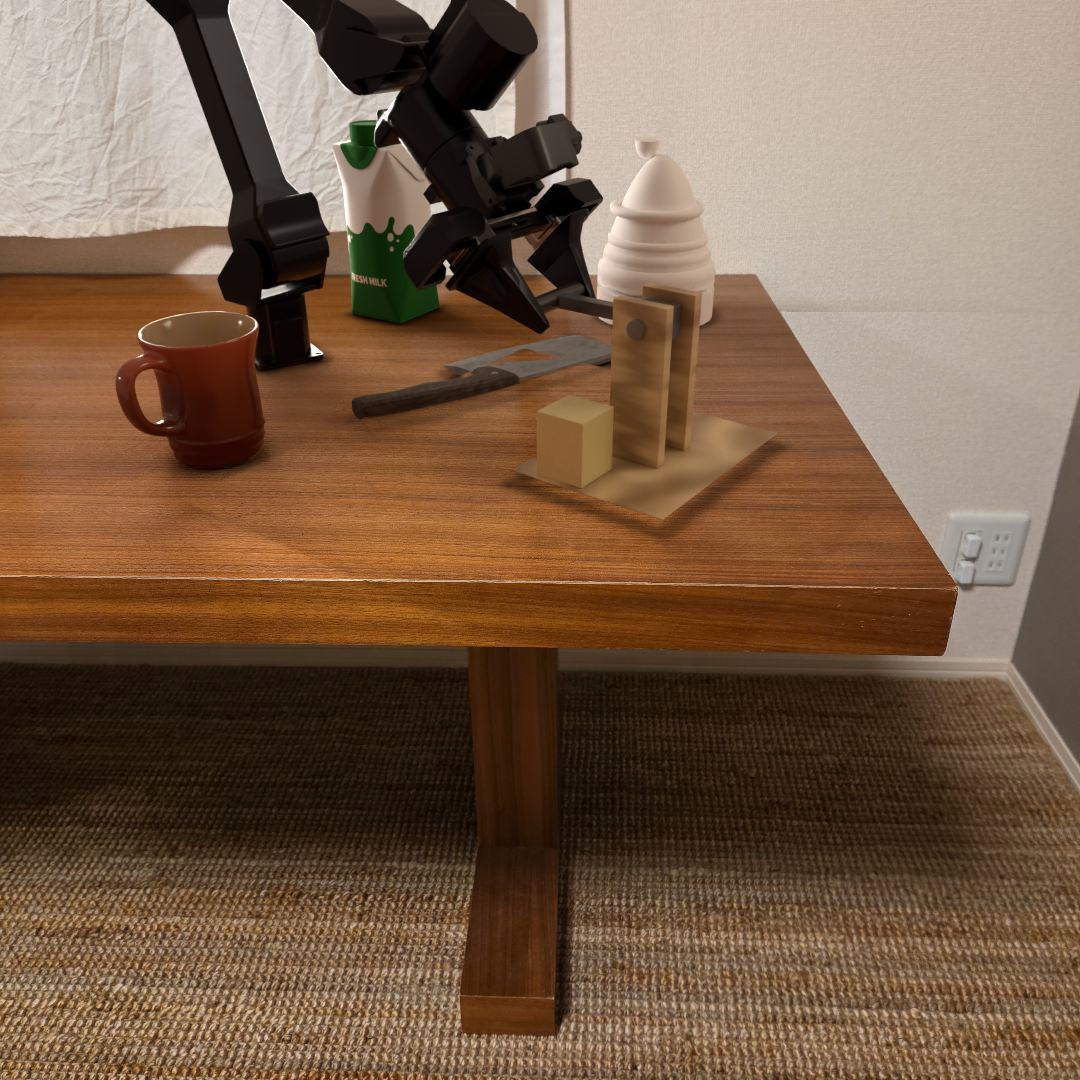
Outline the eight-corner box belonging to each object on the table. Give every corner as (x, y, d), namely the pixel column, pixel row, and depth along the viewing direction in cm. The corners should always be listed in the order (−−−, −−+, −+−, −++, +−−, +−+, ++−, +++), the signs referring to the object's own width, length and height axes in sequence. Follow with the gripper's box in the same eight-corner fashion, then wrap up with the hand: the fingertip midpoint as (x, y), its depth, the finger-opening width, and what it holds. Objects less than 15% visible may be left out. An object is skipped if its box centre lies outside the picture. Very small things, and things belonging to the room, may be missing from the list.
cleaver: (382, 438, 82) (380, 413, 81) (320, 404, 89) (318, 381, 88) (632, 360, 100) (634, 340, 98) (565, 337, 106) (566, 317, 105)
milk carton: (340, 315, 112) (320, 122, 102) (392, 295, 119) (378, 112, 109) (401, 328, 108) (387, 128, 98) (452, 307, 115) (443, 118, 105)
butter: (536, 474, 74) (536, 410, 72) (567, 455, 77) (568, 394, 74) (581, 488, 72) (582, 424, 69) (611, 469, 75) (614, 406, 72)
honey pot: (572, 315, 112) (574, 143, 103) (640, 290, 120) (647, 129, 111) (668, 339, 105) (680, 156, 96) (733, 311, 113) (749, 140, 104)
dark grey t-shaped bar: (524, 322, 76) (524, 290, 75) (570, 303, 80) (570, 273, 79) (650, 351, 70) (652, 317, 69) (693, 329, 74) (695, 297, 73)
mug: (223, 424, 85) (203, 304, 80) (300, 446, 81) (283, 322, 76) (103, 477, 77) (72, 347, 72) (182, 505, 73) (155, 369, 67)
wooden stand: (511, 484, 75) (507, 309, 69) (638, 410, 88) (646, 256, 81) (661, 534, 69) (673, 346, 62) (776, 446, 81) (796, 282, 75)
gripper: (422, 88, 65) (559, 285, 65) (585, 68, 78) (700, 232, 78) (348, 199, 73) (470, 376, 73) (508, 164, 86) (611, 314, 86)
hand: (569, 320), depth 77 cm, fingers closed on dark grey t-shaped bar, 6 cm apart
